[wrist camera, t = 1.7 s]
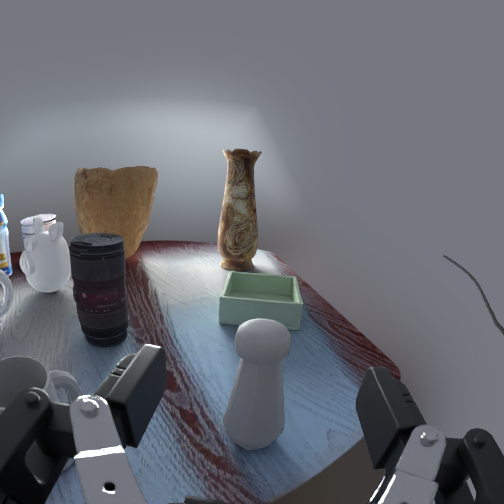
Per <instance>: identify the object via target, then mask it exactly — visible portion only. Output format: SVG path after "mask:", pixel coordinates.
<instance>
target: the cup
mask: <svg viewBox="0 0 504 504" xmlns="http://www.w3.org/2000/svg"><path fill="white" fill-rule="evenodd" d="M59 387H63V388H64V389H65V391H66V392H67V394H68V397H69V404H71V403H72V402H73V401H74V400H75V399H77V398H78V397H81V396H83V394H82V391H81V388H80V385H79V384H78V382H77V380H76V379H75V378H74V377H73V376H72V375H71V374H70V373H68V372H65V371H62V370H52V371H49V370H48V368H47V367H46V365H45V364H44V363H43V362H41V361H40V360H38V359H36V358H34V357H30V356H22V355H16V356H9V357H5V358H2V359H0V414H1V413H2V412H3V411H4V409H5V408H6V407H7V406H8V405H9V404H10V403H11V402H12V401H13V399H14V398H15V397H16V396H17V395H18V394H19V393H20V392H21V391H23V390H25V389H28V388H40V389H43V390H44V391H46V392H47V393H48V395H49V397H50V400H51V402H58V403H61V402H60V400H59V397H58V395H57V392H56V389H57V388H59ZM32 445H33V444H32ZM30 448H31V447H30ZM28 451H29V450H28ZM26 454H27V453H26ZM74 460H75V459H72V458H69V460H68V461H67V463H66V465H65V467H64V469H63V470H62V471H65V470H66V469H67V468H69V467H70V466H71V465H72V463H73V462H74Z"/></svg>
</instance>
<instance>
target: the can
mask: <svg viewBox="0 0 504 504" xmlns="http://www.w3.org/2000/svg"><path fill="white" fill-rule="evenodd" d="M37 216H38V217H39V218H40V219H41V220H42V221H43V222H44V225H45V231H49V227H50V225H52V224H54V223H56V221H55V218H54V217H56V215H53V214H43V215H36V216H32V217H29V218H26V219H24V220H22V221H21V222H20V223H22V236H23V246H24V239H25V238H30V237H32V236H33V235H34V234H35V231H34V228H33V217H37ZM24 250H26V249H25V247H24Z"/></svg>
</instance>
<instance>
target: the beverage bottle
mask: <svg viewBox="0 0 504 504" xmlns="http://www.w3.org/2000/svg"><path fill="white" fill-rule="evenodd" d="M3 206H4V197H3V194H0V270H2V271H3V272H5V273H6V274H7V276H8V277H9V276H10V275H11V274H12V266H11V259H10V251H9V241H8V229H7V228H6V224H7V219H6V217H5V215H4V213H3V211H2V209H1V208H3Z"/></svg>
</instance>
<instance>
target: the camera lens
mask: <svg viewBox="0 0 504 504" xmlns="http://www.w3.org/2000/svg"><path fill="white" fill-rule="evenodd" d="M69 253H70V265H71V273H72V279H73V282H74V286H73V296H74V300H75V302H76V308H77V314H78V319H79V322H80V325H81V329H82V331H83V333H84V334H85V335H86V339H87V341H88V342H89V343H91V344H92V345H95V346H101V347H108V346H113V345H116V344H119V343H121V342H122V341H123V340H124V339H125V338H126V336H127V328H128V314H129V312H128V302H127V296H126V282H125V276H126V255H125V247H124V239H123V237H121V236H119V235H115V234H108V233H91V234H83V235H79V236H76V237H73V238H72V239H71V246H70V251H69Z"/></svg>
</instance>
